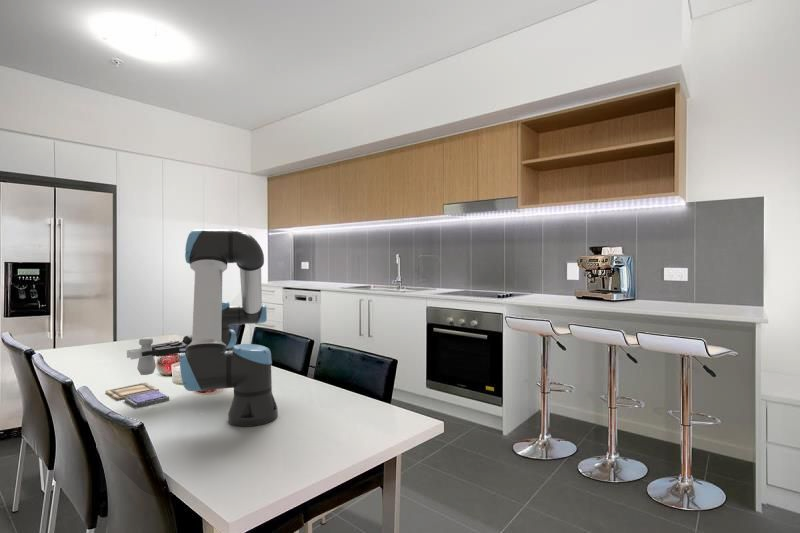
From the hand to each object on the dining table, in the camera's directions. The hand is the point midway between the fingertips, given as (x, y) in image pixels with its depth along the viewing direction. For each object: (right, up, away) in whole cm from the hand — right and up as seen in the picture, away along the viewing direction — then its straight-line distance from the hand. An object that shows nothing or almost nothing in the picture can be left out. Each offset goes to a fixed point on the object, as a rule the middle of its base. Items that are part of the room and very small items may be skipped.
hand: (129, 354), depth 155 cm
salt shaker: (+4, -8, +4) cm, 10 cm away
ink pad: (+4, -17, +5) cm, 18 cm away
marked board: (-7, -17, +14) cm, 24 cm away
